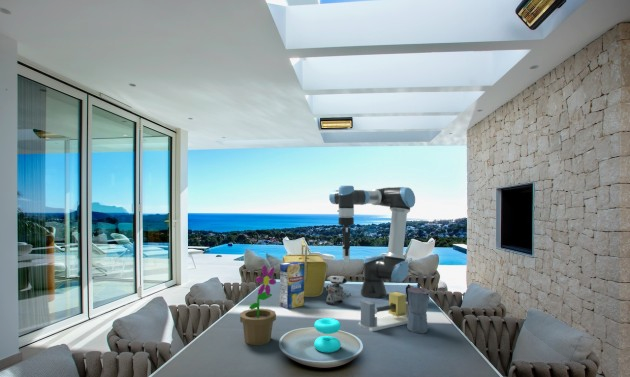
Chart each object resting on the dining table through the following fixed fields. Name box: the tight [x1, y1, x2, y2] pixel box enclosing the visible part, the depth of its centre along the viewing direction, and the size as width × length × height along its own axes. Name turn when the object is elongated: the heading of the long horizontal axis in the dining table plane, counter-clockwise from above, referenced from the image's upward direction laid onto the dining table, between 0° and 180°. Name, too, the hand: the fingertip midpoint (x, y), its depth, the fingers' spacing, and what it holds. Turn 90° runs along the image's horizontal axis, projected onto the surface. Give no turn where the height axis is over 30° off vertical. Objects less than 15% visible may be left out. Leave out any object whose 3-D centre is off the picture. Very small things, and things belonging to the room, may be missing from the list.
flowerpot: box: [239, 265, 277, 346], centre depth 142 cm, size 14×14×30 cm
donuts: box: [313, 317, 342, 353], centre depth 135 cm, size 10×10×10 cm
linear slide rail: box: [358, 299, 410, 332], centre depth 163 cm, size 26×9×11 cm, turn 121°
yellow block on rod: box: [388, 291, 407, 317], centre depth 167 cm, size 5×6×9 cm
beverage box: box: [279, 262, 305, 310], centre depth 189 cm, size 7×11×22 cm, turn 131°
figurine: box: [325, 275, 352, 306], centre depth 193 cm, size 9×12×15 cm
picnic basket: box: [281, 239, 329, 298], centre depth 219 cm, size 29×26×30 cm
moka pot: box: [405, 283, 431, 334], centre depth 156 cm, size 10×15×20 cm, turn 27°
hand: (345, 260), depth 176 cm, fingers open, 13 cm apart
